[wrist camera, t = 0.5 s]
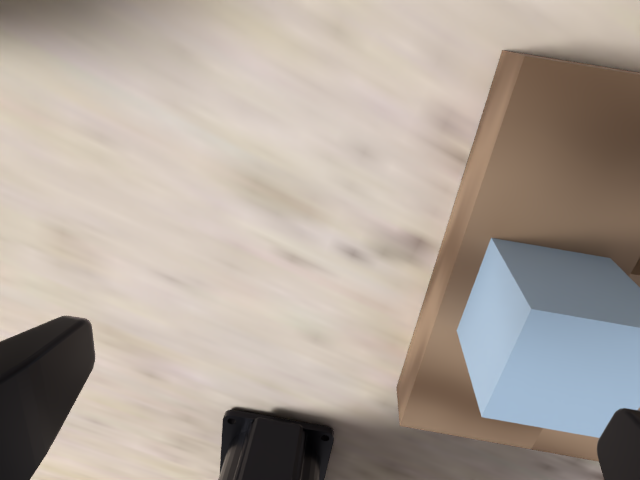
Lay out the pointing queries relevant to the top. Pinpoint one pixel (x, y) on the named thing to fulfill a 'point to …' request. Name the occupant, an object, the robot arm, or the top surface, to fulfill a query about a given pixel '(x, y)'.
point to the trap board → (527, 223)
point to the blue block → (552, 338)
